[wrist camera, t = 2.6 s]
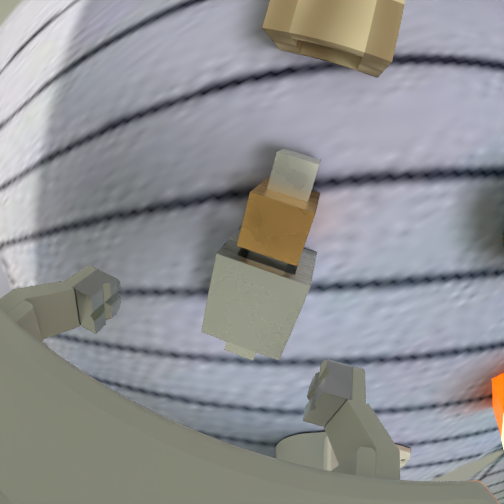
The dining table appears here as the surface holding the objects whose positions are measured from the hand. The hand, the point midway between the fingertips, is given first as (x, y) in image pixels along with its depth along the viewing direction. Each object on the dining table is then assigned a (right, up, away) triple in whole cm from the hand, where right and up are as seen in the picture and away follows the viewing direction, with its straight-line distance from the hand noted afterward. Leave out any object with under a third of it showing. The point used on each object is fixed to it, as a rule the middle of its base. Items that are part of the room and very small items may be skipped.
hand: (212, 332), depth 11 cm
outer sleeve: (+3, +1, +18) cm, 19 cm away
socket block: (+8, +21, +8) cm, 24 cm away
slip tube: (+3, +3, +17) cm, 17 cm away
